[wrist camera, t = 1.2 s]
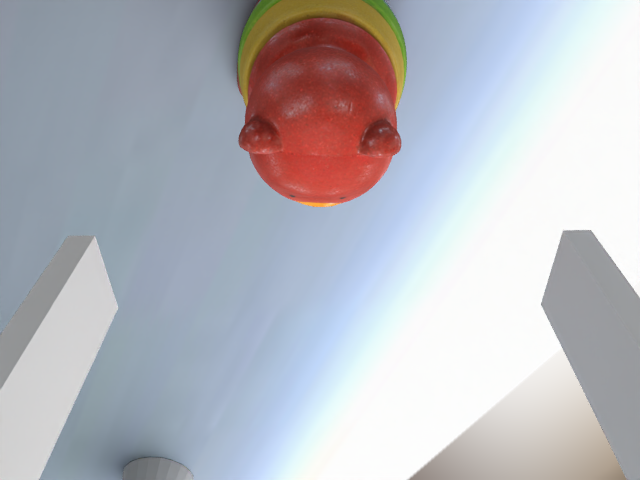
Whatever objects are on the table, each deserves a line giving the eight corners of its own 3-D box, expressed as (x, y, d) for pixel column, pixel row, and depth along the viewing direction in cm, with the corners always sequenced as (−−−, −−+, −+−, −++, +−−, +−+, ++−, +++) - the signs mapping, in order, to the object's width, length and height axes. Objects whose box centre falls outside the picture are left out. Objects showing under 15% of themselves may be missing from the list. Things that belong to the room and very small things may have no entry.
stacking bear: (236, 102, 38) (184, 251, 23) (243, -58, 32) (180, 8, 18) (385, 121, 39) (423, 276, 24) (418, -31, 33) (494, 52, 18)
